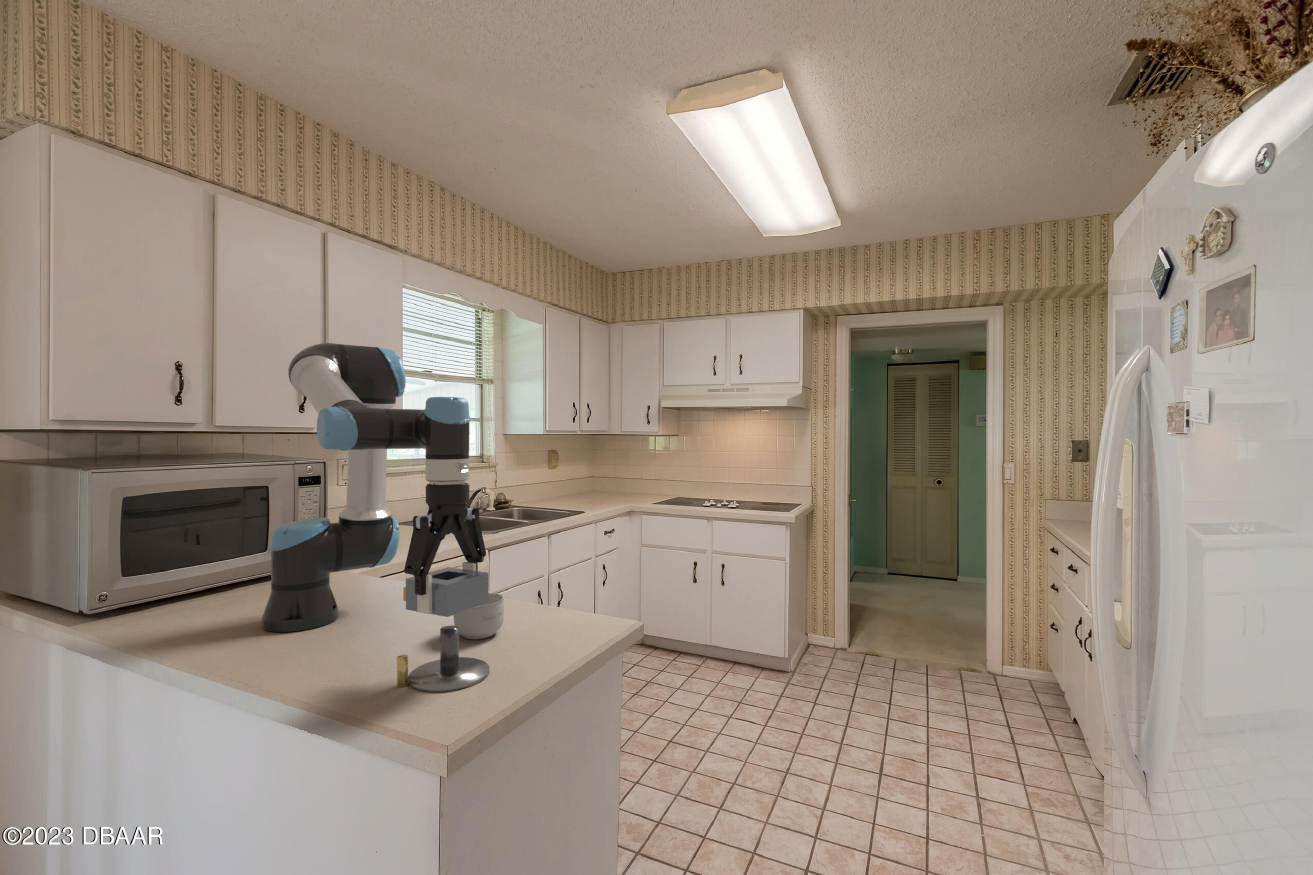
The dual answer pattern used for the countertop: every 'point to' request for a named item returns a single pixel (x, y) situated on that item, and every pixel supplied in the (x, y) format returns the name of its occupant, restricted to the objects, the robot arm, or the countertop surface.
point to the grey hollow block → (451, 591)
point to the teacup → (481, 618)
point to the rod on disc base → (448, 667)
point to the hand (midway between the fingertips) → (447, 604)
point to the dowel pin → (402, 670)
